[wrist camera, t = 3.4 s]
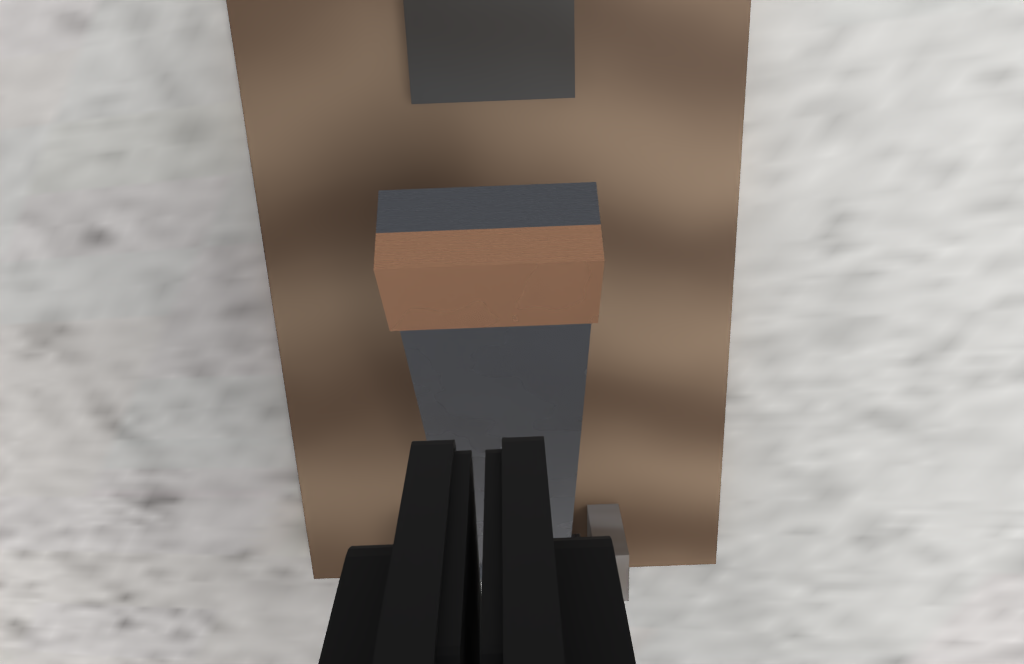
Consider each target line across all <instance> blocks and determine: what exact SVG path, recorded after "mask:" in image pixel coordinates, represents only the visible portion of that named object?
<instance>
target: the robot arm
mask: <svg viewBox="0 0 1024 664" xmlns="http://www.w3.org/2000/svg"><path fill="white" fill-rule="evenodd" d="M318 664H636V662H635V657H634V651H633V646H632V641H631V636H630V630H629V625H628V620H627V615H626V610H625V604H624V599H623V594H622V589H621V583H620V578H619V573H618V568H617V563H616V557H615V552H614V547H613V543H612V539H611V537H610V536H592V537H566V538H553V528H552V518H551V507H550V496H549V485H548V474H547V464H546V453H545V442H544V436H530V437H505V438H502V449H486V450H485V483H484V520H483V557H482V595H481V582H480V567H479V551H478V535H477V519H476V504H475V488H474V472H473V457H472V450H460V451H456V443H455V439H454V440H429V441H412V443H411V447H410V453H409V458H408V464H407V470H406V475H405V481H404V487H403V492H402V498H401V503H400V509H399V515H398V520H397V526H396V532H395V537H394V543H393V544H387V545H361V546H351V547H350V548H349V549H348V551H347V554H346V557H345V560H344V564H343V568H342V572H341V576H340V580H339V584H338V588H337V592H336V596H335V600H334V604H333V608H332V612H331V616H330V620H329V624H328V628H327V632H326V636H325V640H324V644H323V648H322V652H321V655H320V659H319V663H318Z"/></svg>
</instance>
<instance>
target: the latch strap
mask: <svg viewBox="0 0 1024 664" xmlns="http://www.w3.org/2000/svg"><path fill="white" fill-rule="evenodd" d="M604 262H605V260H604V250H603V241H602V231H601V222H600V213H599V203H598V194H597V184H596V182H580V183H554V184H529V185H504V186H478V187H453V188H427V189H402V190H379V192H378V208H377V223H376V238H375V254H374V269H373V270H374V274H375V277H376V281H377V285H378V289H379V292H380V296H381V300H382V304H383V308H384V311H385V315H386V319H387V323H388V327H389V330H390V331H400V334H401V338H402V342H403V346H404V350H405V354H406V358H407V362H408V366H409V370H410V374H411V378H412V382H413V386H414V391H415V395H416V399H417V403H418V407H419V411H420V415H421V419H422V423H423V427H424V431H425V435H426V439H427V441H429V440H454V439H455V443H456V451H460V450H472V457H473V472H474V488H475V504H476V519H477V535H478V551H479V567H480V582H482V557H483V520H484V483H485V450H486V449H502V438H505V437H530V436H544V442H545V453H546V464H547V474H548V485H549V496H550V507H551V518H552V528H553V538H566V537H580V534H572V524H573V513H574V503H575V492H576V481H577V471H578V460H579V450H580V439H581V428H582V418H583V407H584V397H585V386H586V375H587V365H588V354H589V344H590V333H591V323H598V318H599V309H600V299H601V290H602V281H603V271H604Z"/></svg>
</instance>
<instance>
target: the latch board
mask: <svg viewBox="0 0 1024 664" xmlns="http://www.w3.org/2000/svg"><path fill="white" fill-rule="evenodd" d="M226 2H227V9H228V15H229V22H230V28H231V35H232V41H233V48H234V55H235V61H236V68H237V74H238V81H239V88H240V94H241V101H242V107H243V114H244V121H245V127H246V134H247V140H248V147H249V154H250V160H251V167H252V173H253V180H254V186H255V193H256V200H257V206H258V213H259V219H260V226H261V233H262V239H263V246H264V252H265V259H266V266H267V272H268V279H269V285H270V292H271V298H272V305H273V312H274V318H275V325H276V331H277V338H278V345H279V351H280V358H281V364H282V371H283V378H284V384H285V391H286V397H287V404H288V410H289V417H290V424H291V430H292V437H293V443H294V450H295V457H296V463H297V470H298V476H299V483H300V490H301V496H302V503H303V509H304V516H305V522H306V529H307V536H308V542H309V549H310V555H311V562H312V569H313V575H314V579H322V578H340V576H341V572H342V568H343V564H344V560H345V557H346V554H347V551H348V549H349V548H350V547H351V546H361V545H387V544H393V543H394V537H395V532H396V526H397V520H398V515H399V509H400V503H401V498H402V492H403V487H404V481H405V475H406V470H407V464H408V458H409V453H410V447H411V443H412V441H427V439H426V435H425V431H424V427H423V423H422V419H421V415H420V411H419V407H418V403H417V399H416V395H415V391H414V386H413V382H412V378H411V374H410V370H409V366H408V362H407V358H406V354H405V350H404V346H403V342H402V338H401V334H400V331H390V330H389V327H388V323H387V319H386V315H385V311H384V308H383V304H382V300H381V296H380V292H379V289H378V285H377V281H376V277H375V274H374V270H373V269H374V254H375V238H376V223H377V208H378V192H379V190H402V189H427V188H453V187H478V186H504V185H529V184H554V183H580V182H596V184H597V194H598V203H599V213H600V222H601V231H602V241H603V250H604V260H605V262H604V271H603V281H602V290H601V299H600V309H599V318H598V323H591V333H590V344H589V354H588V365H587V375H586V386H585V397H584V407H583V418H582V428H581V439H580V450H579V460H578V471H577V481H576V492H575V503H574V513H573V524H572V534H580V537H592V536H610V537H611V539H612V543H613V547H614V552H615V557H616V563H617V568H618V573H619V578H620V583H621V589H622V594H623V599H624V601H629V567H644V566H671V565H698V564H716V551H717V535H718V519H719V503H720V487H721V471H722V455H723V439H724V423H725V407H726V391H727V375H728V359H729V343H730V327H731V311H732V295H733V279H734V263H735V247H736V232H737V216H738V200H739V184H740V168H741V152H742V136H743V120H744V104H745V88H746V72H747V56H748V40H749V24H750V8H751V0H226Z"/></svg>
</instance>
